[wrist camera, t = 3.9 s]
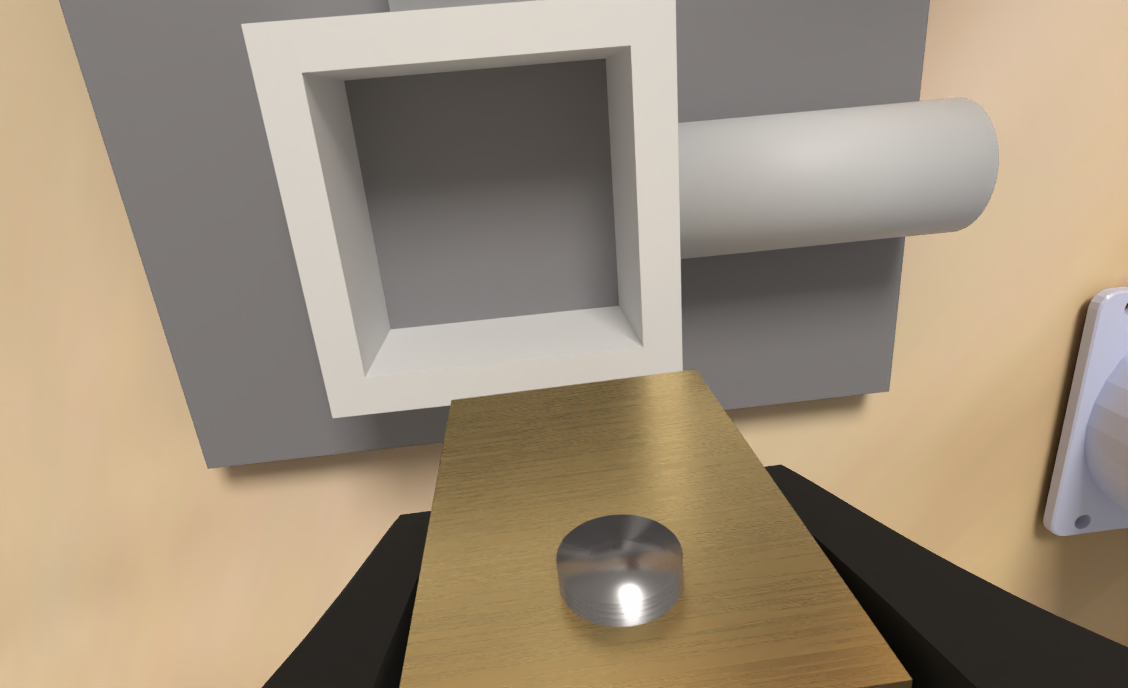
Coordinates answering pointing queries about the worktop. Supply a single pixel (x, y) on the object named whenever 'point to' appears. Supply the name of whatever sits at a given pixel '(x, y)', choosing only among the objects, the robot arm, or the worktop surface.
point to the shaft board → (518, 199)
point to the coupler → (625, 553)
